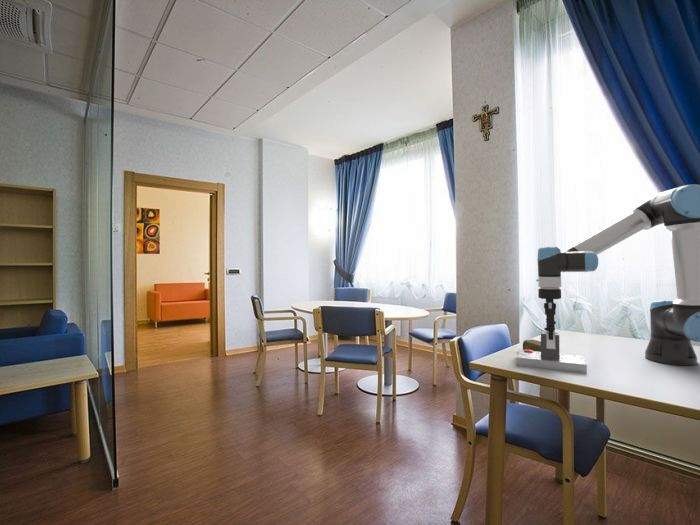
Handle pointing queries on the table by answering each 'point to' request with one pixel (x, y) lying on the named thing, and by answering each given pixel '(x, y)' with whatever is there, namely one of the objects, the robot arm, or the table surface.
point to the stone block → (532, 345)
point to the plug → (549, 352)
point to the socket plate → (552, 361)
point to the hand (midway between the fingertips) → (550, 344)
